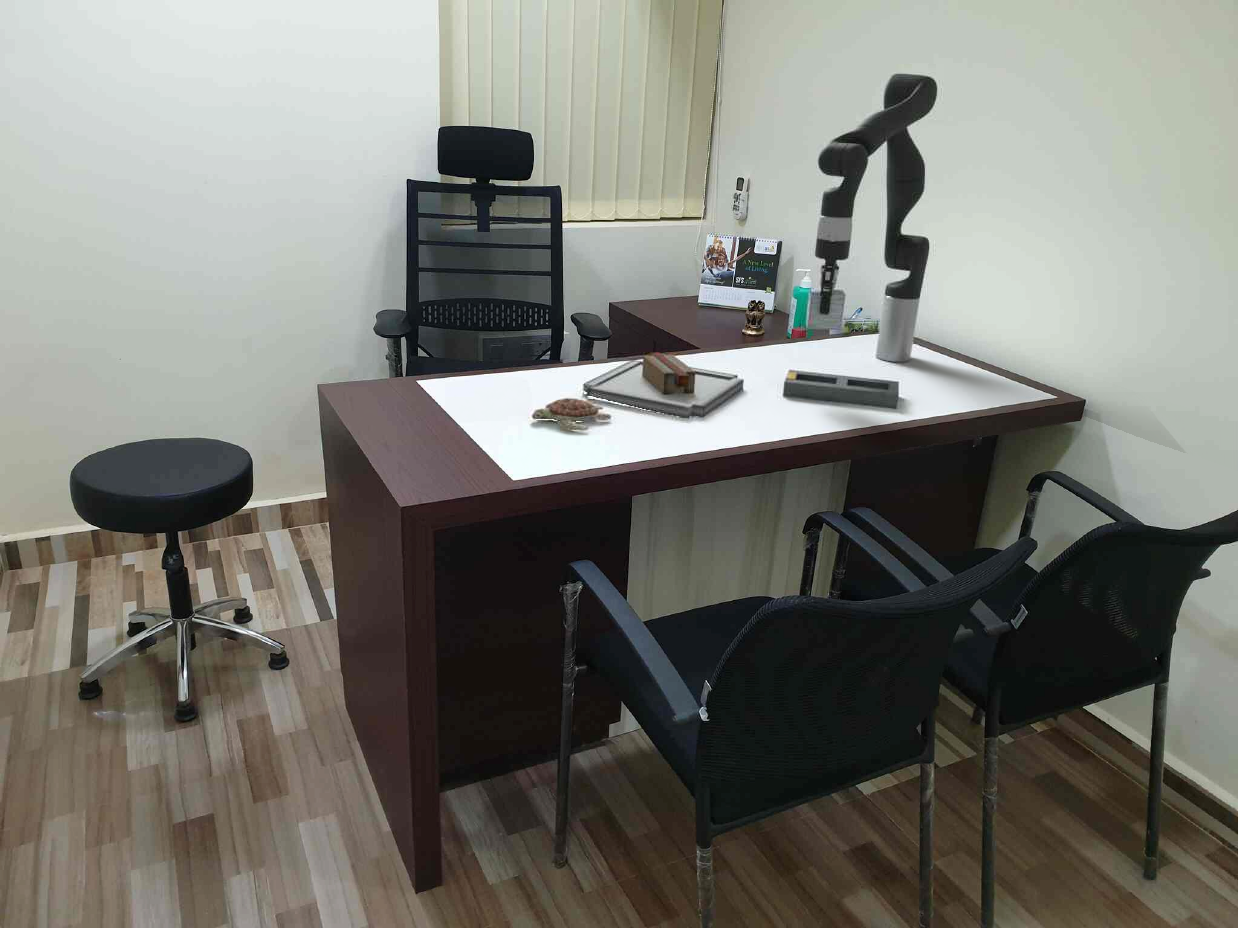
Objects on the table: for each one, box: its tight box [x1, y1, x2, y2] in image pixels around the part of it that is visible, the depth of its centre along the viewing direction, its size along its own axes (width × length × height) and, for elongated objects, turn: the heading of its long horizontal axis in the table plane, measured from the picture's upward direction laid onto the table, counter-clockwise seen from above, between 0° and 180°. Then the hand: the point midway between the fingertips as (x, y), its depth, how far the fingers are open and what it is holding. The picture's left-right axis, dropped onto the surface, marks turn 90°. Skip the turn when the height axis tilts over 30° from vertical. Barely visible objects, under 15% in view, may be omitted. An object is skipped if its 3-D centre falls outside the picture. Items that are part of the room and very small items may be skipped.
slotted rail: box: [782, 369, 900, 410], centre depth 217 cm, size 11×26×4 cm, turn 74°
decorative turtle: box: [531, 397, 612, 431], centre depth 194 cm, size 18×17×5 cm
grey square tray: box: [582, 352, 745, 420], centre depth 214 cm, size 30×30×8 cm
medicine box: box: [805, 288, 847, 331], centre depth 212 cm, size 8×4×9 cm, turn 84°
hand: (824, 311), depth 212 cm, fingers closed on medicine box, 5 cm apart
